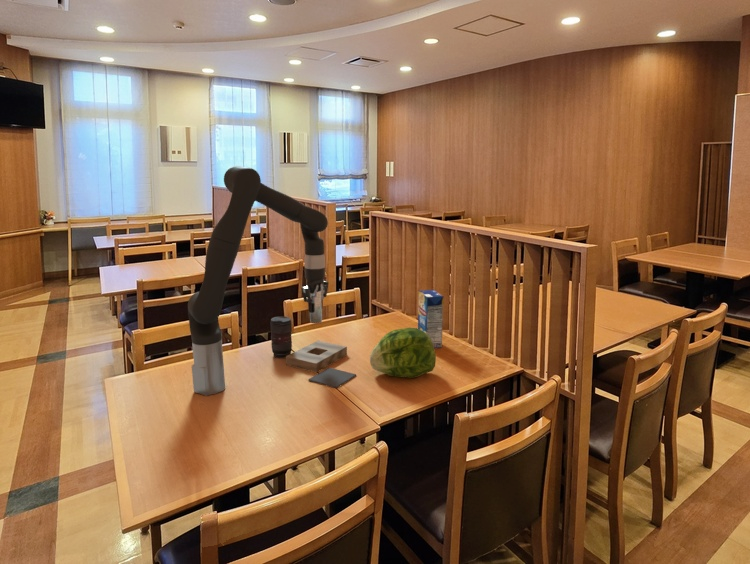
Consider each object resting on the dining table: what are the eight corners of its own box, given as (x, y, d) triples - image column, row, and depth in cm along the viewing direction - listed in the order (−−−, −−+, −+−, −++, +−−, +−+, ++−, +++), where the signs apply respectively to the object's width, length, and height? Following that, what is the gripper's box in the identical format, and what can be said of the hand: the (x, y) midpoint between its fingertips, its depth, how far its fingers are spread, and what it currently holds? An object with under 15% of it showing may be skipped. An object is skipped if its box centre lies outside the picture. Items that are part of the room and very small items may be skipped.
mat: (336, 388, 167) (336, 386, 167) (308, 380, 173) (308, 379, 173) (356, 375, 177) (356, 374, 177) (328, 368, 183) (328, 367, 183)
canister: (317, 324, 185) (316, 292, 182) (307, 322, 187) (307, 291, 185) (324, 321, 189) (323, 290, 186) (314, 319, 191) (314, 288, 188)
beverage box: (426, 349, 203) (427, 297, 198) (417, 340, 213) (418, 290, 208) (441, 347, 204) (443, 296, 199) (432, 339, 215) (434, 289, 210)
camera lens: (290, 358, 193) (289, 322, 189) (269, 358, 193) (268, 321, 189) (294, 351, 200) (293, 315, 197) (274, 351, 201) (272, 315, 197)
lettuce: (366, 342, 187) (363, 328, 170) (427, 330, 188) (429, 315, 171) (375, 389, 181) (372, 380, 164) (438, 377, 181) (442, 367, 164)
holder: (316, 372, 180) (315, 363, 179) (286, 364, 187) (285, 356, 186) (346, 354, 197) (346, 346, 196) (318, 348, 204) (318, 340, 203)
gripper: (311, 270, 175) (312, 316, 179) (334, 264, 187) (334, 307, 191) (294, 268, 179) (295, 313, 183) (318, 262, 191) (319, 305, 195)
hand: (315, 310), depth 187 cm, fingers closed on canister, 4 cm apart
